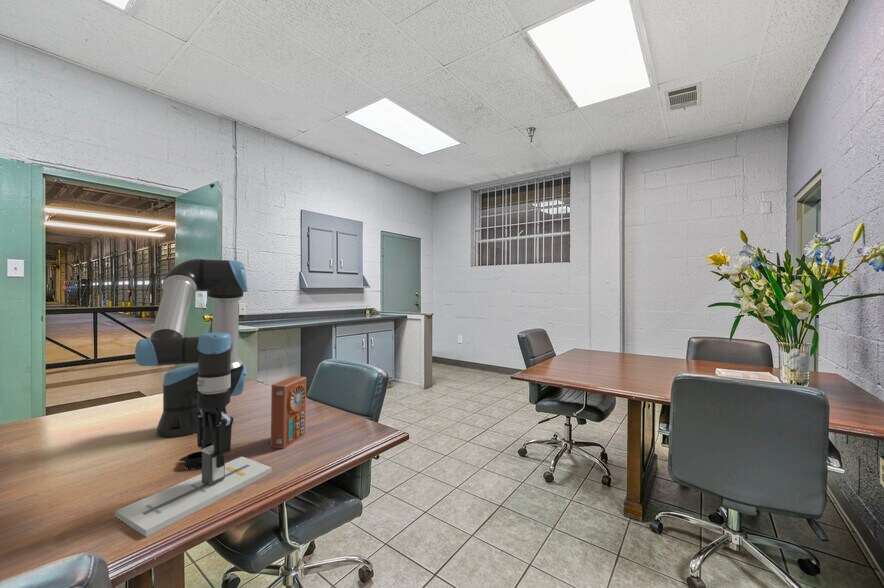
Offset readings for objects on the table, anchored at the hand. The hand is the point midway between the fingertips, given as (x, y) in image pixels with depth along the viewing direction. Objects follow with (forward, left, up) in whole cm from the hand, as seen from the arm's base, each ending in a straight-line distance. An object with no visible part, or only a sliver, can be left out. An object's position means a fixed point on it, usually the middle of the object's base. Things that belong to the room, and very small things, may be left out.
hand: (213, 475), depth 97 cm
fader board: (0, -3, -3) cm, 4 cm away
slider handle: (0, 0, -1) cm, 1 cm away
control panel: (-7, +30, -3) cm, 31 cm away
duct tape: (-17, +5, -4) cm, 18 cm away
